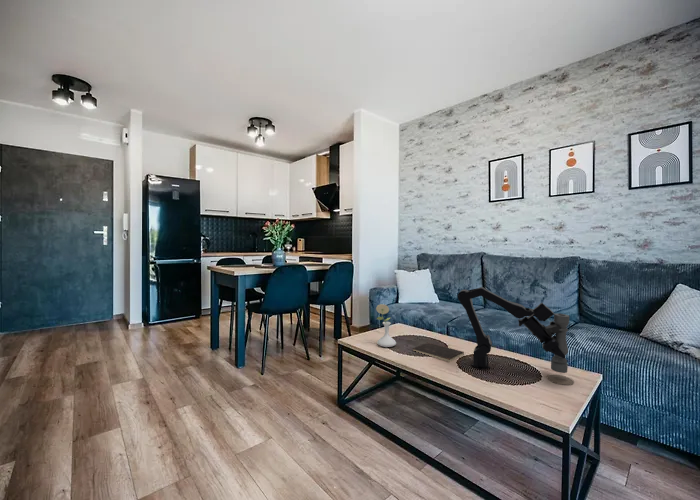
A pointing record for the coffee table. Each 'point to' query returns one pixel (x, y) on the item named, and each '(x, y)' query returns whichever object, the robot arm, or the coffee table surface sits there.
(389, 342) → the flower in vase
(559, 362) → the candle holder
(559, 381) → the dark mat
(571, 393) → the coffee table surface
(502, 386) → the coffee table surface
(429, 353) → the hardcover book
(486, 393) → the coffee table surface
